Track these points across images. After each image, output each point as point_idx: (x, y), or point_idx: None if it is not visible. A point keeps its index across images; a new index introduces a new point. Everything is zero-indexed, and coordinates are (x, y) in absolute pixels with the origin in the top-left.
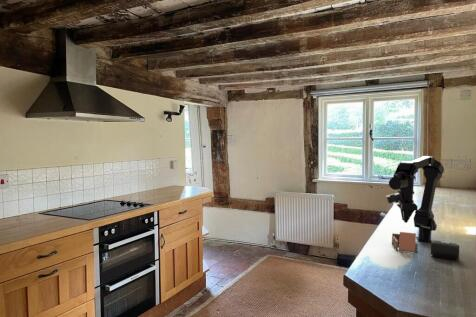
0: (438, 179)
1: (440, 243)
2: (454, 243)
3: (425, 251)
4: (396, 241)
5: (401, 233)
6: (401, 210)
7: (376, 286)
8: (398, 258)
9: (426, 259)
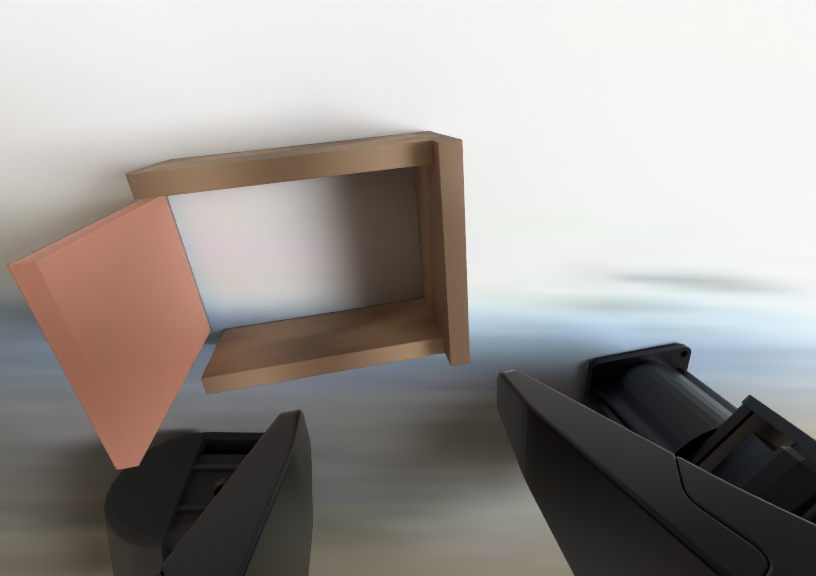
0: None
1: None
2: None
3: (313, 395)
4: (135, 178)
5: (35, 280)
6: (701, 572)
7: None
8: None
9: (63, 400)
